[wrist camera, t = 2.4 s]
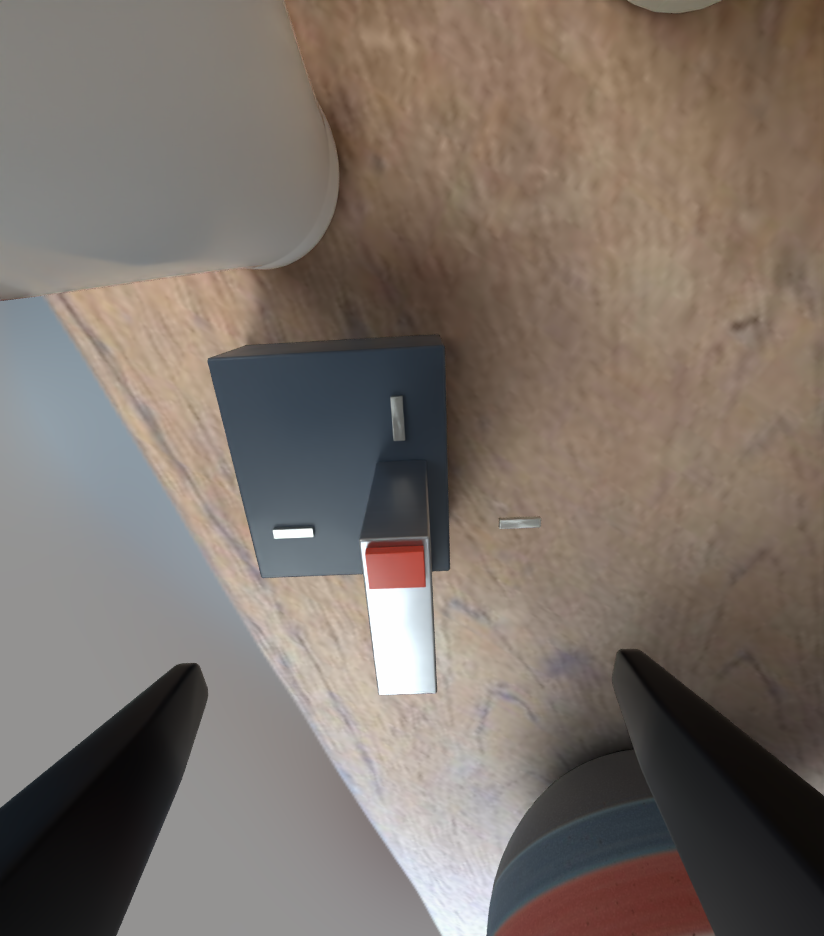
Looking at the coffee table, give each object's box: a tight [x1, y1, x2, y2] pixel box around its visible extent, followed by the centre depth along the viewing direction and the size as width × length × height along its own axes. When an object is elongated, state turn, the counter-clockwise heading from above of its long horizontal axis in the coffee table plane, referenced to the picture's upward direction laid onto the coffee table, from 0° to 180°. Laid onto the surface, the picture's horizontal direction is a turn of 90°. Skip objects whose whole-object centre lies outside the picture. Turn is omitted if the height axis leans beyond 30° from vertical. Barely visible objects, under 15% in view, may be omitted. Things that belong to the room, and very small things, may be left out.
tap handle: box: [359, 460, 437, 695], centre depth 12 cm, size 5×2×5 cm, turn 3°
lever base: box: [208, 334, 541, 578], centre depth 15 cm, size 11×10×3 cm
